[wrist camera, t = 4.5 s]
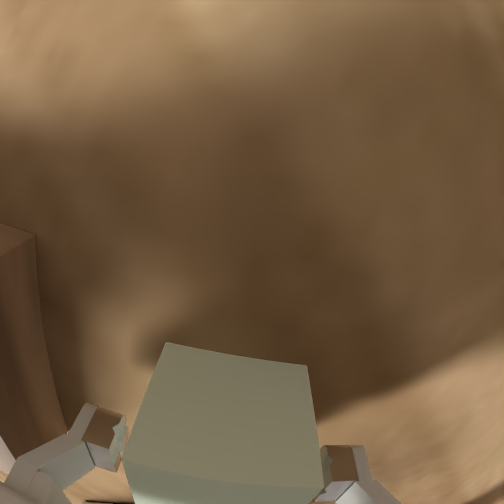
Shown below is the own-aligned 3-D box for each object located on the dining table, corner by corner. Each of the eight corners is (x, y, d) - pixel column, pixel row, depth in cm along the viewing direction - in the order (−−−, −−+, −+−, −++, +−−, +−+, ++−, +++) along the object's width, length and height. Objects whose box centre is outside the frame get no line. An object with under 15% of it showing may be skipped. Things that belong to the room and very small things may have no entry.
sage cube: (307, 363, 11) (324, 487, 6) (274, 440, 13) (276, 535, 8) (166, 340, 11) (121, 458, 6) (165, 422, 12) (139, 516, 8)
